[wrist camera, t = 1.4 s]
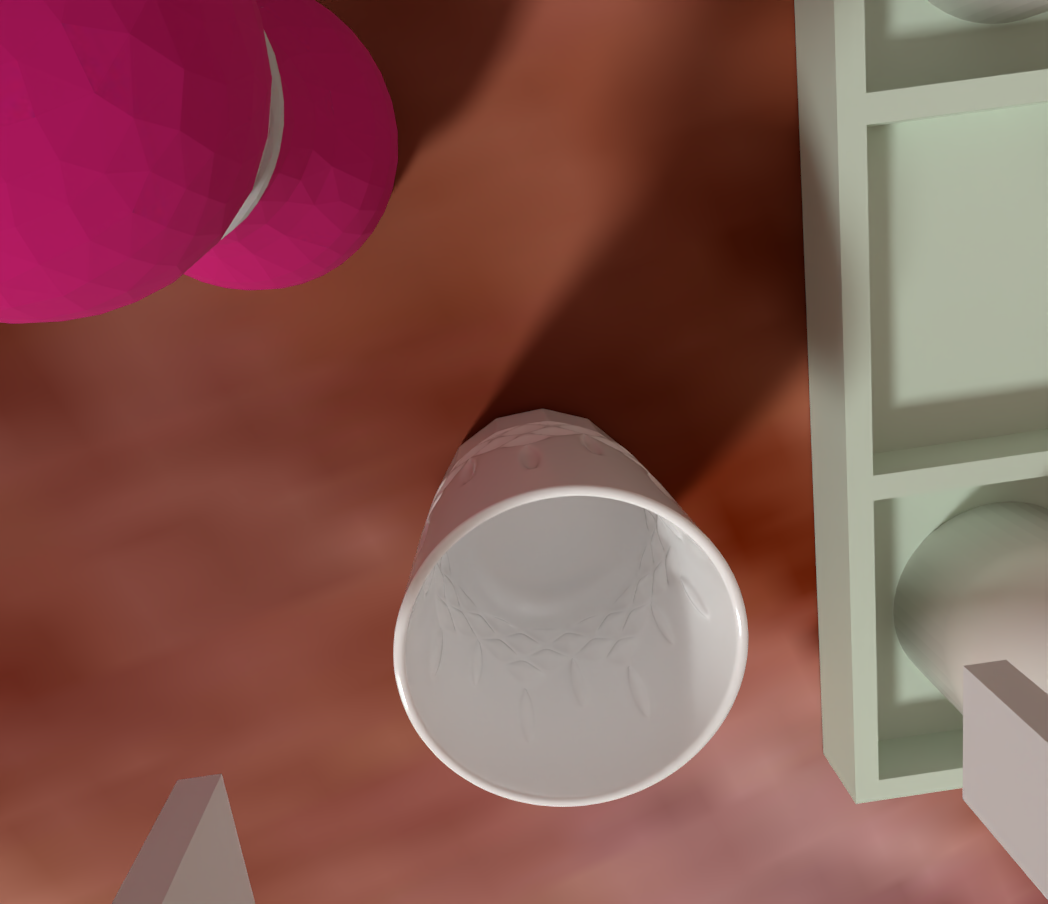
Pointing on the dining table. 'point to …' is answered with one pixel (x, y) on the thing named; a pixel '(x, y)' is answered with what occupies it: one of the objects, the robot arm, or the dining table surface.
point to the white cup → (564, 619)
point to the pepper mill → (182, 149)
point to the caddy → (915, 337)
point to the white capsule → (977, 596)
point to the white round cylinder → (992, 9)
